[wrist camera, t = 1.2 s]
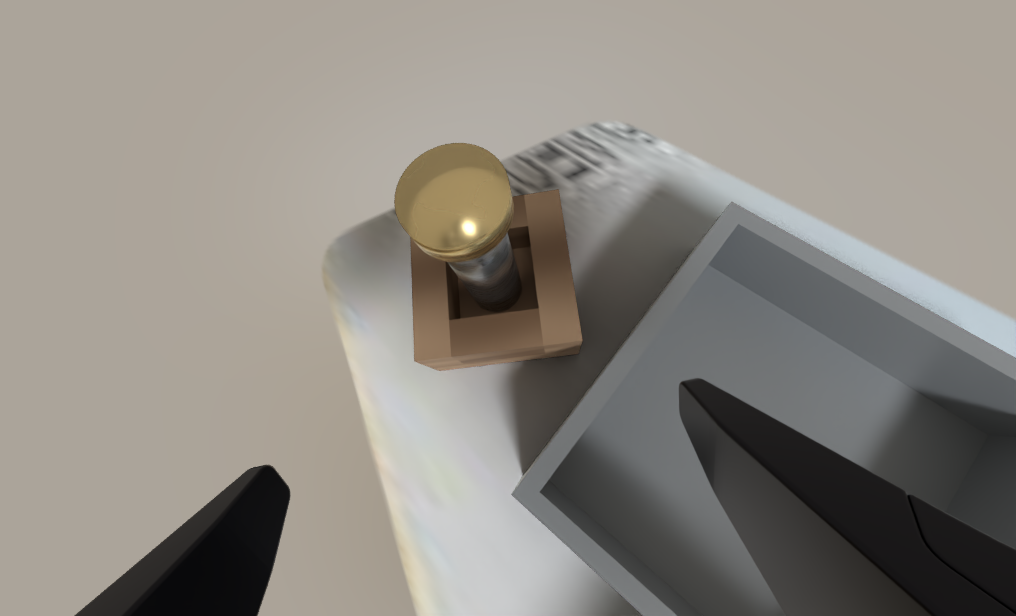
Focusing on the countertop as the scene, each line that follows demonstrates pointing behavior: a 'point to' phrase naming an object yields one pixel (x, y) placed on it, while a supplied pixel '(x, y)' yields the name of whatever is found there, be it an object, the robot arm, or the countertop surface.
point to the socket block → (518, 330)
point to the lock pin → (463, 219)
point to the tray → (780, 394)
